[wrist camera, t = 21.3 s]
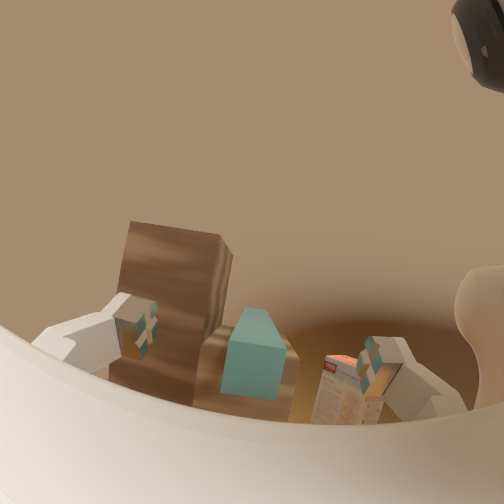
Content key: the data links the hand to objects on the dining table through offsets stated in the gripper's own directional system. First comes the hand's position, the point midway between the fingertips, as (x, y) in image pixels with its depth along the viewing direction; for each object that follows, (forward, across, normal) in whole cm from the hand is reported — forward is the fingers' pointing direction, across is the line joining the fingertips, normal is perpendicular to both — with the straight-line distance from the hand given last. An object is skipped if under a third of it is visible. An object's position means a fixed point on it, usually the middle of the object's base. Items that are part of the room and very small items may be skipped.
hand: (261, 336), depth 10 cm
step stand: (+4, +4, +37) cm, 37 cm away
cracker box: (+18, -21, +45) cm, 53 cm away
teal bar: (+13, 0, +12) cm, 17 cm away
